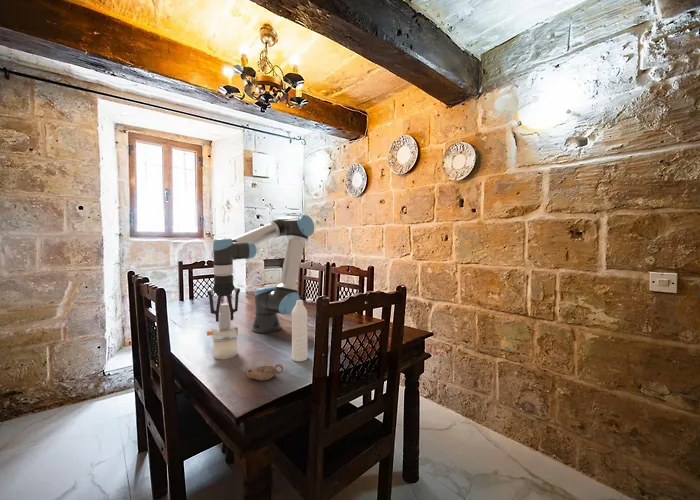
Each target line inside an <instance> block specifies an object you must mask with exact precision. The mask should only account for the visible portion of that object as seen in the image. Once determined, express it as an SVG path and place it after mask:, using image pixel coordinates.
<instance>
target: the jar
mask: <svg viewBox="0 0 700 500" xmlns="http://www.w3.org/2000/svg"><path fill="white" fill-rule="evenodd" d="M212 349H213V351H212V352H213V353H212V354H213V358H214V359H215V360H228V359H232V358H234V357H236V356H237V355H238V336H237V337H235V338H232V339H228V340H214V339H212Z"/></svg>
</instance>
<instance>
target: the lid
mask: <svg viewBox="0 0 700 500" xmlns="http://www.w3.org/2000/svg"><path fill="white" fill-rule="evenodd" d="M229 312H230V308H229V304H228V302H225V303H220V308H219V313H220V320H221V330H219V326H217V327H215V328H213V329H209V330H206V336H211V339H212V340H228V339H232V338H235V337H237V338H238V336H239V331H238V330H239V327H238V326H237V325H231V329H229Z"/></svg>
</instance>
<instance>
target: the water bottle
mask: <svg viewBox="0 0 700 500" xmlns="http://www.w3.org/2000/svg"><path fill="white" fill-rule="evenodd" d="M312 301H313V298H306V299H305V302H306V303H311V302H312ZM308 343H309V342H308V310H307V308H306V307H305V305H304V304H303V300H302V299H300V300H297V302H296V305H295V307H294V308H293V310H292V314H291V353H292V354H291V360H292V361H294V362H298V363H299V362H305V361H306V360H307V359H308V355H309V354H308V349H309V348H308Z"/></svg>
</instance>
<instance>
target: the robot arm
mask: <svg viewBox="0 0 700 500" xmlns="http://www.w3.org/2000/svg"><path fill="white" fill-rule="evenodd" d="M314 232H315V222H314V220H313V219H312V217H311V216H309V215H308V214H307V215H306V214H291V215H289V214H288V215H282V216H280V217H277V218H276V219H272V220H270V221H268V223H267V224H266V225H263V226H261V227H258V228H256V229H252V230H251V231H248V232H246V233H243V234H241V235H238V236H235V237H233V238H215V239H214V240H213V244H212V245H213V247H212V250H213V251H212V252H213V255H212V256H213V274H214V277H213V282H214V283H213V284H214V285H213V287H212V288H211V289H208V290H207V291H206V293H207V295H208V298H209V308H210V314H213V315H215V323H218V327H219V330H221V320H220V304H221V300H222V297H226V298H227V303H228V304H229V329H231V326H232V323H231V322H232V321H234V313H236V312H238V309H239V294H240V292H241V288H240V287H236V286H235V285H234V275H233V273H234V263H233V262H234V261H235V260H236V261H237V260H246V259H247V260H250V259H254V258H255V257H256V255H257V245H259V244H261V243H263V242H266V241H268V240H270V239H277V238H279V237H285V236H286V238H287V246H286V250H285V251H286V252H285V255H284V260H283V265H282V269H281V273H280V274H281V275H280V279H279V280H280V281H279V283H278V284H276V285H273V286H264V287H259V288H258V287H257V288H256V289H255V290H254V309H255V311H254V319H253V322H252V327H251V330H252V331H253V332H254V333H259V334H260V333H261V334H264V333H265V334H266V333H272V332H277V331H279V330H280V329H281V321H280V319H279V316H278V314H281V315H292V310H293V308H294V307H295V305H296V302H297V300H301V298H300V295H299V293H298V291H299V290H298V288H297V280H298V276H299V271H300V266H301V261H302V257H303V256H302V255H303V250H304V246H305V243H307V242H308V240H309V237H311V236H312V235H313V234H314ZM233 291H234V293H235V297H234V307H233V304H232V298H231V294H232V293H233ZM214 292H215V294H216V295H217V301H216V306H215V305H214V297H213V295H214ZM215 307H216V308H215Z"/></svg>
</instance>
